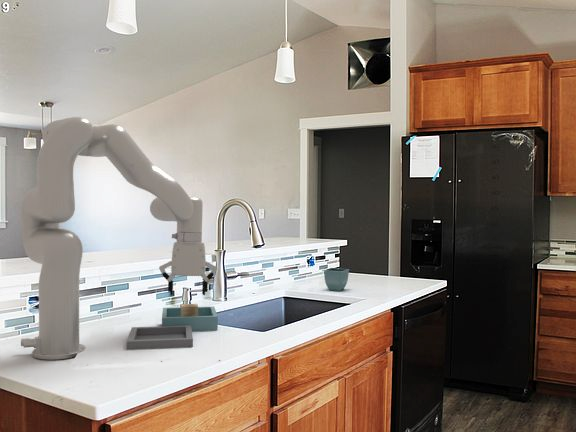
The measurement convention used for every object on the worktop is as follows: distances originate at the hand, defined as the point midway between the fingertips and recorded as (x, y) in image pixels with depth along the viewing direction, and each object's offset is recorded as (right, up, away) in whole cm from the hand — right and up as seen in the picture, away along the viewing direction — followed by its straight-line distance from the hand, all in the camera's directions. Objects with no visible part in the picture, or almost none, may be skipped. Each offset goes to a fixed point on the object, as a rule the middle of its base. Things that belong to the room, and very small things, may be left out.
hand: (187, 294), depth 176 cm
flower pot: (+52, -9, +78) cm, 94 cm away
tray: (0, -10, +1) cm, 10 cm away
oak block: (0, -9, +1) cm, 9 cm away
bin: (-4, -11, -18) cm, 22 cm away
